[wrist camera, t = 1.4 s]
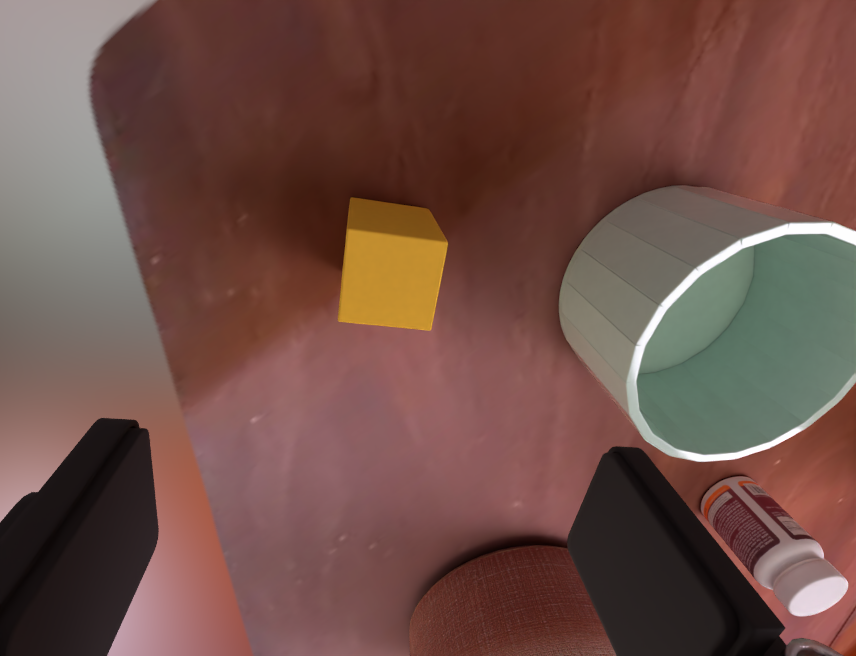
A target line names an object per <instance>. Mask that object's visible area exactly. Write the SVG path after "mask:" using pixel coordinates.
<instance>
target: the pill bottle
mask: <svg viewBox="0 0 856 656" xmlns="http://www.w3.org/2000/svg"><path fill="white" fill-rule="evenodd" d="M701 512H702V514H703V515H704V517H705V518H706V519H707V520H708V521H709V523H710V524H711V525H712V527H713V528H714V529H715V530H716V531H717V533H718V534H719V535H720V536H721V538H722V539H723V540H724V541H725V542H726V544H727V545H728V546H729V547H730V549H731V550H732V551H733V552H734V554H735V555H736V556H737V557H738V558H739V560H740V561H741V562H742V563H743V565H744V566H745V567H746V568H747V569H748V571H749V572H750V573H751V574H752V576H753V577H754V578H755V580H756V581H758V582H759V583H760V584H761V585H762V586H764V587H766V588H768V589H771V590H773V592H774V594H775V596H776V597H777V598H778V600H779V601H780V602H781V603H782V604H783V605H784V606H785V607H786V609H787V610H788V611H789V612H790V613H791V614H793V615H796V616H809V615H814V614H817V613H819V612H822V611H824V610H826V609H828V608H829V607H831V606H833V605H834V604H835V603H837V602H838V601H839V600H840V599H841V598H842V597H843V595H844V594H845V593H846V591H847V589H848V582H847V580H846V579H845V578H844V576H843V575H842V574H841V573H840V572H839V571H838V570H837V569H836V568H835V567H834V566H833V565H832V564H831V563H829V562H828V561H827V560H826V559H824V553H823V550H822V548H821V546H820V545H819V543H818V542H817V541H816V540H815V539H813V538H812V537H811V536H810V535H809V534H808V533H807V532H806V531H805V530H804V529H803V528H802V527H801V526H800V525H799V524H798V523H797V522H796V521H795V520H794V519H793V518H792V517H791V516H790V515H789V514H788V513H786V512H785V511H784V510H783V509H782V508H781V507H780V506H779V505H778V504H777V503H776V502H775V501H774V500H773V499H772V498H771V497H770V496H769V495H768V494H767V493H766V492H765V491H764V490H763V489H762V488H761V487H760V486H759V485H758V484H757V483H756V482H755V481H754V480H752V479H750V478H748V477H743V476H737V477H731V478H727V479H724V480H722V481H720V482H718V483H717V484H715V485H714V486H712V487H711V488H710V489H709V490H708V491H707V492H706V494H705V495H704V497H703V499H702V502H701Z"/></svg>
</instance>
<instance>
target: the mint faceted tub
mask: <svg viewBox="0 0 856 656" xmlns="http://www.w3.org/2000/svg"><path fill="white" fill-rule="evenodd" d="M559 317H560V323H561V328H562V330H563V333H564V336H565V338H566V340H567V342H568V344H569V346H570V347H571V348H572V350H573V351H574V352H575V354H576V355H577V357H578V358H579V360H580V361H581V363H582V364H583V365H584V366H585V367H586V369H587V370H588V371H589V372H590V374H591V375H592V376H593V377H594V379H595V380H596V381H597V382H598V383H599V385H600V386H601V387H602V388H603V390H604V391H605V392H606V393H607V395H608V396H609V397H610V398H611V399H612V401H613V402H614V403H615V404H616V406H617V407H618V408H619V409H620V411H621V412H622V413H623V414H624V415H625V417H626V418H627V419H628V420H629V422H630V423H631V424H632V425H633V427H634V428H635V429H636V430H637V431H638V433H639V434H640V435H641V436H642V438H643V439H644V440H645V441H647V442H648V443H650V444H651V445H653V446H654V447H656V448H657V449H659V450H661V451H662V452H664V453H665V454H667V455H668V456H672V457H677V458H682V459H687V460H692V461H696V462H709V461H721V460H733V459H737V458H741V457H744V456H747V455H750V454H753V453H756V452H759V451H762V450H766V449H769V448H771V447H773V446H775V445H777V444H779V443H781V442H783V441H784V440H786V439H788V438H790V437H792V436H793V435H795V434H797V433H799V432H801V431H803V430H804V429H806V428H807V427H809V426H810V425H811V424H813V423H814V422H815V421H816V420H818V419H819V418H820V417H821V416H823V415H824V414H825V413H826V412H827V411H829V410H830V409H831V408H832V407H834V406H835V405H836V404H837V403H838V402H839V400H842V398H843V397H844V396H845V395H846V394H847V392H848V391H849V390H850V389H851V388H852V386H853V385H854V384H855V383H856V231H855V230H852V229H850V228H848V227H845V226H843V225H840V224H838V223H835V222H833V221H829V220H825V219H822V218H818V217H815V216H811V215H807V214H804V213H800V212H796V211H793V210H789V209H785V208H782V207H778V206H775V205H771V204H767V203H764V202H760V201H756V200H753V199H749V198H745V197H742V196H738V195H735V194H731V193H727V192H724V191H720V190H716V189H713V188H709V187H700V186H691V185H678V186H669V187H663V188H658V189H655V190H652V191H649V192H646V193H643V194H641V195H639V196H637V197H635V198H632V199H630V200H629V201H627V202H625V203H624V204H622V205H620V206H619V207H617V208H616V209H614V210H613V211H612V212H611V213H609V214H608V215H607V216H605V217H604V218H603V219H602V220H601V221H600V222H599V223H598V224H597V225H596V226H595V227H594V228H593V229H592V230H591V231H590V232H589V233H588V235H587V236H586V237H585V238H584V239H583V241H582V242H581V244H580V245H579V247H578V248H577V250H576V251H575V253H574V255H573V257H572V259H571V261H570V262H569V264H568V267H567V270H566V272H565V275H564V277H563V281H562V285H561V289H560V297H559Z"/></svg>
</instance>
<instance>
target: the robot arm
mask: <svg viewBox="0 0 856 656" xmlns="http://www.w3.org/2000/svg"><path fill="white" fill-rule="evenodd" d="M157 540H158V519H157V510H156V500H155V490H154V479H153V469H152V460H151V449H150V439H149V432H148V430H147V429H144V428H139V424H138V422H137V421H136V420H127V419H109V418H101V419H98V420H97V421H96V422H95V423H94V424H93V425H92V426H91V428H90V429H89V430H88V431H87V433H86V434H85V435H84V436H83V437H82V439H81V440H80V441H79V442H78V444H77V445H76V446H75V448H74V449H73V450H72V451H71V452H70V454H69V455H68V456H67V457H66V458H65V460H64V461H63V462H62V463H61V465H60V466H59V467H58V468H57V470H56V471H55V472H54V473H53V474H52V476H51V477H50V478H49V479H48V481H47V482H46V483H45V484H44V485H43V487H42V488H41V489H40V490H39V492H31V493H30V494H28V495H26V496H24V497H23V498H22V499H21V500H20V501H19V502H18V503H17V504H16V505H15V506H14V507H13V508H12V509H11V510H10V512H9V513H8V514H7V515H6V517H5V518H4V519H3V520H2V521H1V522H0V656H107V654H108V652H109V650H110V648H111V646H112V643H113V641H114V639H115V636H116V634H117V632H118V630H119V628H120V626H121V623H122V621H123V619H124V617H125V615H126V612H127V610H128V608H129V606H130V603H131V601H132V599H133V597H134V595H135V592H136V590H137V588H138V586H139V583H140V581H141V579H142V577H143V575H144V573H145V570H146V568H147V566H148V564H149V562H150V559H151V557H152V555H153V553H154V550H155V547H156V544H157ZM567 544H568V550H569V553H570V556H571V558H572V560H573V562H574V564H575V567H576V569H577V571H578V573H579V575H580V578H581V580H582V582H583V584H584V586H585V588H586V591H587V593H588V595H589V597H590V599H591V601H592V604H593V606H594V608H595V610H596V612H597V615H598V617H599V619H600V621H601V623H602V625H603V628H604V630H605V632H606V634H607V636H608V638H609V641H610V643H611V645H612V647H613V649H614V652H615V654H616V656H843V655H841V654H840V653H838V652H837V651H835V650H834V649H832V648H831V647H828V646H826V645H824V644H822V643H819V642H817V641H814V640H810V639H805V638H799V639H793V640H792V641H791V642H790V643H789V644H788V645H787V646H786V644H785V643H784V642H783V641H782V639H781V638H780V637H779V635H780V634H781V633H782V631H783V630H784V629H785V627H784V626H783V624H782V623H781V622H780V621H779V619H778V618H777V617H776V616H775V614H774V613H773V612H772V611H771V609H770V608H769V607H768V606H767V604H766V603H765V602H764V601H763V599H762V598H761V597H760V596H759V594H758V593H757V592H756V591H755V589H754V588H753V587H752V586H751V584H750V583H749V582H748V581H747V579H746V578H745V577H744V576H743V574H742V573H741V572H740V571H739V569H738V568H737V567H736V566H735V564H734V563H733V562H732V561H731V559H730V558H729V557H728V556H727V554H726V553H725V552H724V551H723V549H722V548H721V547H720V546H719V544H718V543H717V542H716V541H715V539H714V538H713V537H712V536H711V534H710V533H709V532H708V531H707V529H706V528H705V527H704V526H703V524H702V523H701V522H700V521H699V519H698V518H697V517H696V516H695V514H694V513H693V512H692V511H691V510H690V508H689V507H688V506H687V505H686V503H685V502H684V501H683V500H682V498H681V497H680V496H679V495H678V493H677V492H676V491H675V490H674V488H673V487H672V486H671V485H670V483H669V482H668V481H667V480H666V478H665V477H664V476H663V475H662V473H661V472H660V471H659V470H658V468H657V467H656V466H655V465H654V463H653V462H652V461H651V460H650V458H649V457H648V456H647V455H646V453H645V452H644V451H643V450H642V449H640V448H634V447H612V448H611V449H610V450H609V452H608V453H605V454H603V456H602V458H601V460H600V462H599V465H598V467H597V469H596V472H595V474H594V476H593V479H592V481H591V483H590V486H589V488H588V490H587V493H586V495H585V497H584V500H583V502H582V504H581V507H580V509H579V512H578V514H577V516H576V519H575V521H574V523H573V526H572V528H571V530H570V533H569V535H568V540H567Z"/></svg>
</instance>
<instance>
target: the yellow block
mask: <svg viewBox="0 0 856 656" xmlns="http://www.w3.org/2000/svg"><path fill="white" fill-rule="evenodd" d="M447 247H448V241H447V240H446V238H445V236H444V235H443V233H442V231H441V229H440V228H439V226H438V224H437V222H436V221H435V219H434V217H433V215H432V214H431V212H430V210H429V209H427V208H421V207H414V206H407V205H401V204H394V203H387V202H381V201H374V200H367V199H361V198H354V197H351V198H350V204H349V213H348V222H347V232H346V242H345V252H344V262H343V272H342V282H341V292H340V303H339V313H338V321H339V322H348V323H358V324H368V325H378V326H388V327H399V328H409V329H419V330H431V328H432V323H433V318H434V313H435V308H436V303H437V298H438V293H439V288H440V283H441V278H442V273H443V268H444V262H445V257H446V252H447Z"/></svg>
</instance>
